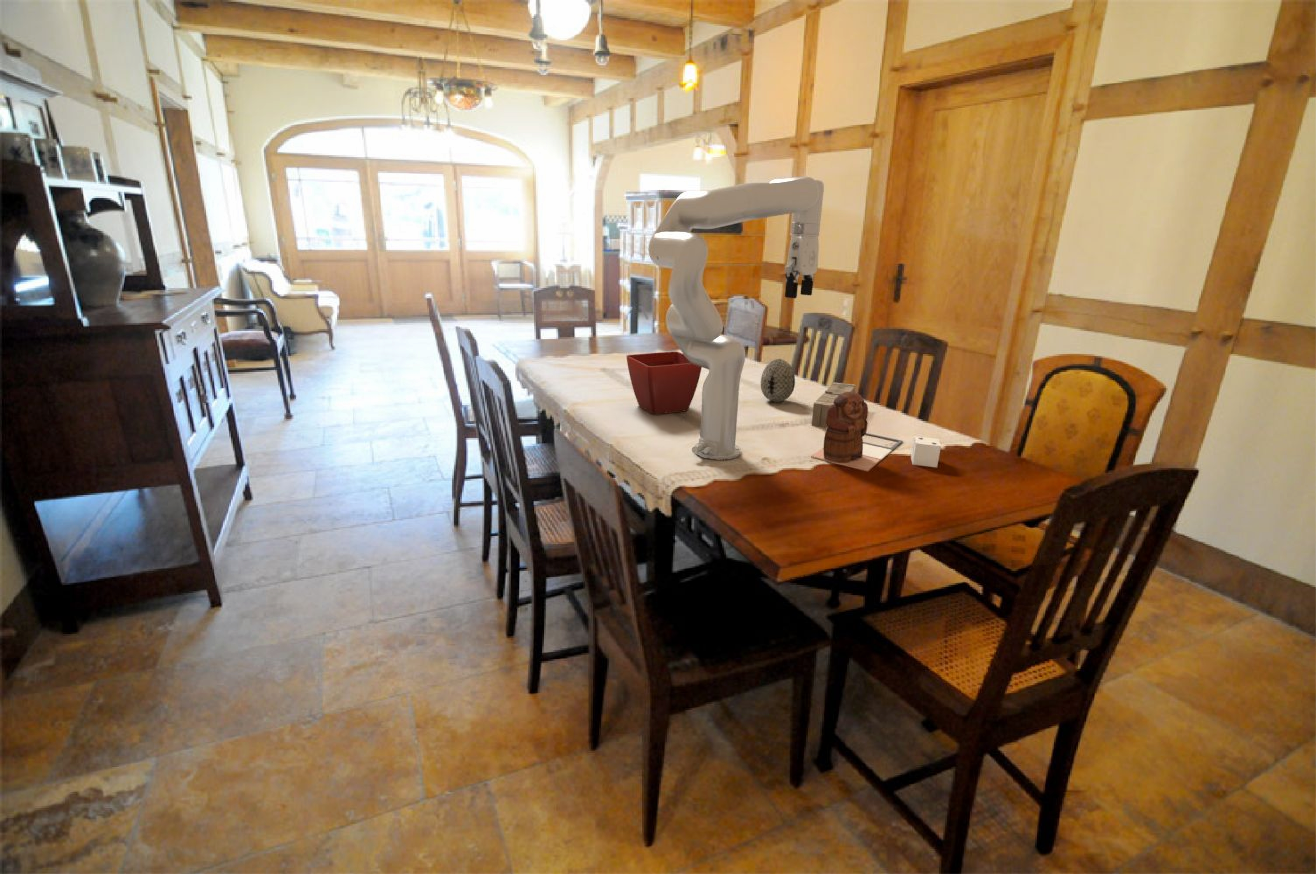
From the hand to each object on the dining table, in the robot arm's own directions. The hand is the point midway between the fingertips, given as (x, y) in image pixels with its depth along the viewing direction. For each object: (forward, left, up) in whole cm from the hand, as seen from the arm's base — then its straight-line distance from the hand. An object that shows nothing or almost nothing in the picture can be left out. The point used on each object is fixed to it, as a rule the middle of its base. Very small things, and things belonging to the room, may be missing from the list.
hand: (798, 296), depth 172 cm
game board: (+3, -21, -40) cm, 46 cm away
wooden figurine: (-7, -21, -40) cm, 46 cm away
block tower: (+30, -3, -41) cm, 50 cm away
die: (+5, -38, -40) cm, 56 cm away
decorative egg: (+32, +19, -40) cm, 55 cm away
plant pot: (-1, +44, -41) cm, 60 cm away
